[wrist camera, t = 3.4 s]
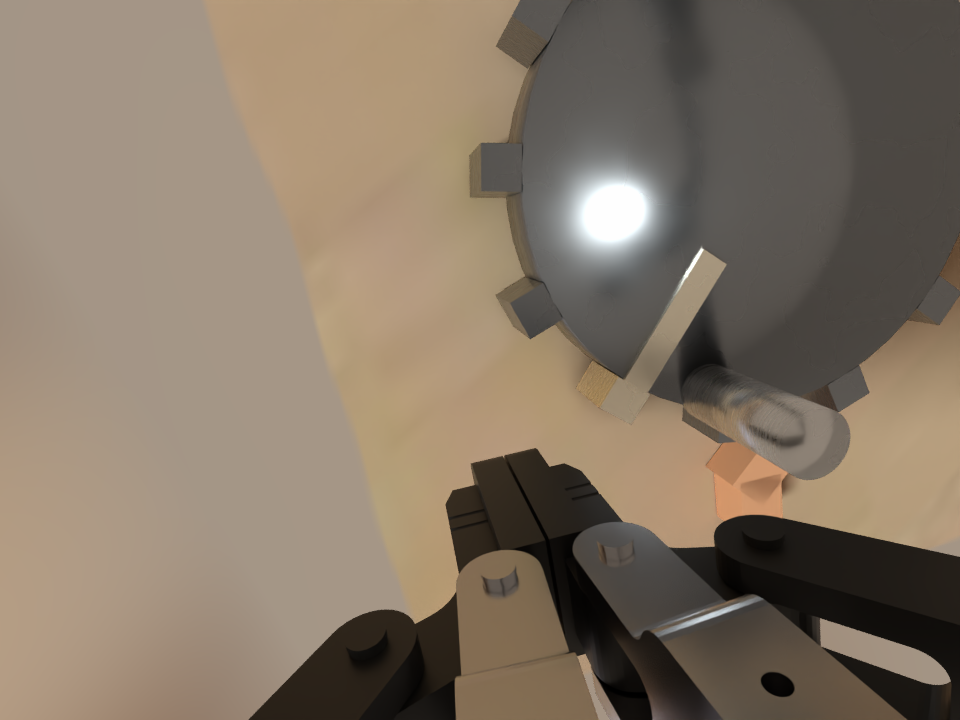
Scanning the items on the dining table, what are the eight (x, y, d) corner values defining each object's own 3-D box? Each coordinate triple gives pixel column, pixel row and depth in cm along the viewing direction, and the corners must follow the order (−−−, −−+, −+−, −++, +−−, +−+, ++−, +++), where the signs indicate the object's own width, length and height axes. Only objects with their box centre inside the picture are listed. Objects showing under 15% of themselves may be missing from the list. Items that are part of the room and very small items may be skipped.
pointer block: (703, 439, 18) (730, 457, 17) (756, 426, 18) (788, 442, 17) (709, 517, 19) (735, 540, 17) (760, 503, 19) (791, 525, 17)
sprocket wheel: (657, -261, 13) (868, -659, 7) (1028, 91, 17) (1365, 13, 11) (373, 278, 15) (359, 304, 9) (763, 489, 18) (932, 604, 13)
